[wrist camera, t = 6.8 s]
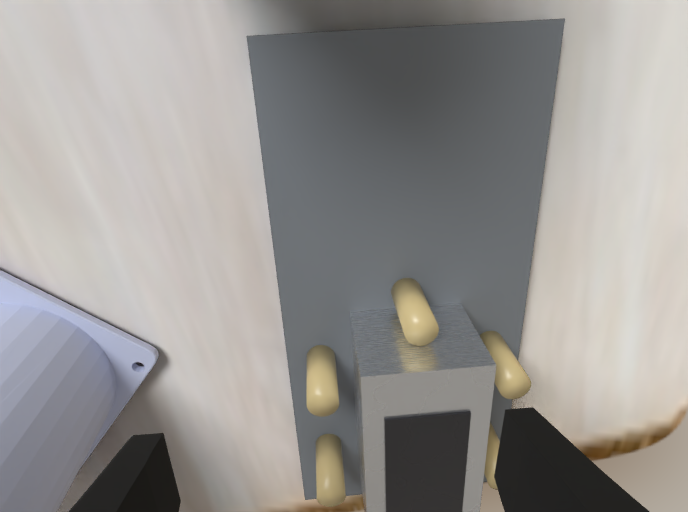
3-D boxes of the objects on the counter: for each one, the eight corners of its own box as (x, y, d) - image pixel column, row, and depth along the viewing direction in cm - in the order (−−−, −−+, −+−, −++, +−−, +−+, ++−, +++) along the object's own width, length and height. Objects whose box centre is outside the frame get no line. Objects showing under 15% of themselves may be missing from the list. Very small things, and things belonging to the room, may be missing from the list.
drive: (450, 445, 22) (479, 526, 19) (357, 454, 22) (367, 537, 18) (460, 302, 19) (497, 367, 15) (350, 311, 19) (361, 379, 15)
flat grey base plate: (495, 467, 24) (524, 533, 21) (305, 485, 24) (304, 556, 21) (552, 19, 15) (618, 14, 12) (249, 35, 15) (233, 36, 12)
